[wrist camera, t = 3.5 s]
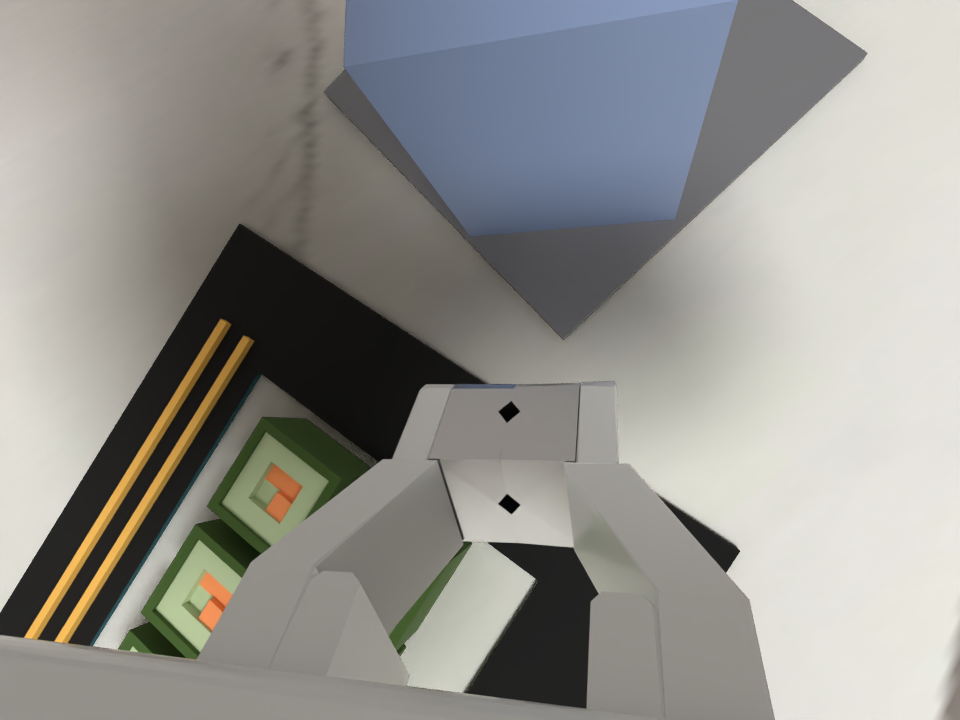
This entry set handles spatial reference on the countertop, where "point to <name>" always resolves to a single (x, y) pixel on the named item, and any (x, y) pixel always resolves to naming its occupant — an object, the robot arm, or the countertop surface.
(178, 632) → the sushi
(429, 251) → the countertop surface
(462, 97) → the card deck
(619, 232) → the rubber mat
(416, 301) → the countertop surface
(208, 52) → the countertop surface
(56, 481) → the countertop surface
